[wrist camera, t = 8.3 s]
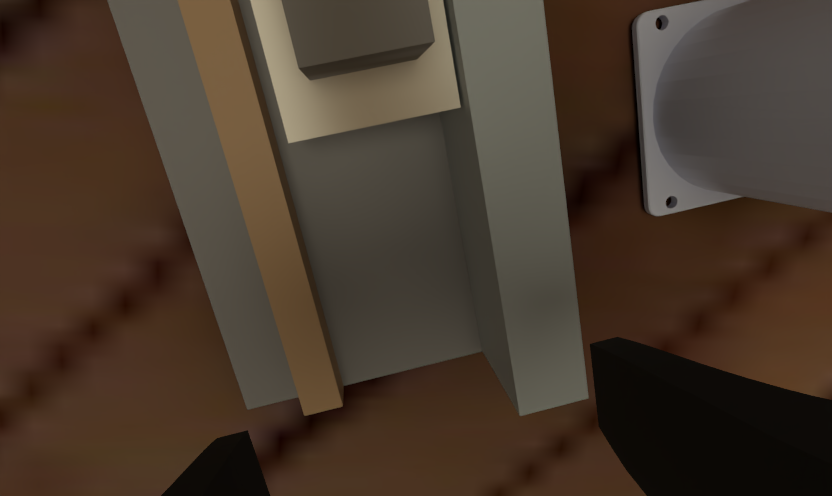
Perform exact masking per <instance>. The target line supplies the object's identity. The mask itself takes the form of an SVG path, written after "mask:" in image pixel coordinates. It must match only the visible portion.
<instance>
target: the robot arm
mask: <svg viewBox="0 0 832 496" xmlns="http://www.w3.org/2000/svg"><path fill="white" fill-rule="evenodd" d="M657 18H659V19H661V21H662V27H661V29H660V30H659V29H657V28H656V24H655V23H656V19H657ZM632 37H633V51H634V66H635V80H636V95H637V109H638V124H639V138H640V153H641V167H642V182H643V196H644V207H645V210H646V212H647V213H648V214H651V215H654V216H663V215H667V214H671V213H676V212H680V211H684V210H689V209H693V208H697V207H701V206H706V205H710V204H714V203H718V202H723V201H727V200H731V199H736V198H740V197H750V198H755V199H761V200H766V201H771V202H777V203H782V204H788V205H793V206H799V207H804V208H810V209H815V210H820V211H826V212H831V213H832V0H702V1H697V2H692V3H687V4H682V5H677V6H671V7H666V8H661V9H656V10H651V11H647V12H645V13H642V14H640V15H638V16H637V17H636V18H635V20H634V22H633V24H632ZM668 197H671V203H670V204H669V205H668V206H667V207H666V200H667V198H668ZM590 350H591V359H592V368H593V377H594V386H595V395H596V404H597V413H598V423H599V427H600V429H601V431H602V432H603V434H604V436H605V437H606V439H607V441H608V442H609V444H610V445H611V447H612V449H613V450H614V452H615V453H616V455H617V456H618V458H619V460H620V461H621V463H622V464H623V466H624V467H625V469H626V470H627V471H628V473H629V474H630V475H631V476H632V478H633V479H634V480H635V481H636V483H637V484H638V485H639V486H640V488H641V489H642V490H643V491H644V493H645V494H646V495H647V496H832V400H829V399H824V398H820V397H815V396H811V395H807V394H803V393H799V392H795V391H791V390H787V389H784V388H780V387H777V386H773V385H770V384H766V383H762V382H759V381H755V380H752V379H748V378H745V377H742V376H738V375H735V374H732V373H729V372H725V371H722V370H719V369H716V368H713V367H710V366H707V365H704V364H701V363H698V362H695V361H692V360H689V359H686V358H683V357H680V356H677V355H674V354H671V353H668V352H665V351H662V350H659V349H656V348H653V347H650V346H647V345H644V344H641V343H637V342H634V341H631V340H627V339H623V338H619V337H616V338H612V339H608V340H604V341H600V342H596V343H592V344H590ZM161 496H270V494H269V491H268V488H267V485H266V482H265V479H264V476H263V474H262V471H261V468H260V465H259V462H258V459H257V456H256V453H255V450H254V448H253V445H252V442H251V439H250V436H249V433H248V431H244V432H240V433H236V434H232V435H228V436H224V437H220V438H217V439H216V440H215V441H213V442H212V443H211V444H210V445H209V446H208V447H207V448H206V449H205V450H204V451H203V452H202V453H201V454H200V455H199V456H198V457H197V458H196V459H195V460H194V461H193V462H192V464H191V465H190V466H189V467H188V468H187V469H186V470H185V471H184V472H183V473H182V474H181V475H180V476H179V477H178V478H177V480H176V481H175V482H174V483H173V484H172V485H171V486H170V487H169V488H168V489H167V490H166V491H165V492H164V493H163V494H162V495H161Z"/></svg>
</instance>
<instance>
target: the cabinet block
mask: <svg viewBox="0 0 832 496" xmlns="http://www.w3.org/2000/svg"><path fill="white" fill-rule="evenodd" d="M250 1H251V5H252V9H253V13H254V16H255V20H256V24H257V28H258V31H259V35H260V39H261V43H262V46H263V50H264V54H265V57H266V61H267V65H268V69H269V72H270V76H271V80H272V84H273V87H274V91H275V95H276V99H277V102H278V106H279V110H280V114H281V117H282V121H283V125H284V129H285V132H286V136H287V140H288V143H292V142H297V141H302V140H307V139H312V138H316V137H321V136H326V135H331V134H336V133H341V132H345V131H350V130H355V129H360V128H365V127H369V126H374V125H379V124H384V123H389V122H393V121H398V120H403V119H408V118H413V117H417V116H422V115H427V114H432V113H437V112H441V111H446V110H451V109H456V108H461V105H460V99H459V93H458V87H457V81H456V75H455V69H454V63H453V57H452V51H451V45H450V39H449V33H448V27H447V21H446V15H445V9H444V3H443V0H250Z"/></svg>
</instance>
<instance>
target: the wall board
mask: <svg viewBox="0 0 832 496" xmlns="http://www.w3.org/2000/svg"><path fill="white" fill-rule="evenodd" d="M107 1H108V3H109V6H110V9H111V12H112V15H113V18H114V21H115V24H116V27H117V30H118V33H119V36H120V39H121V41H122V44H123V47H124V50H125V53H126V56H127V59H128V62H129V65H130V68H131V71H132V74H133V77H134V80H135V82H136V85H137V88H138V91H139V94H140V97H141V100H142V103H143V106H144V109H145V112H146V115H147V118H148V120H149V123H150V126H151V129H152V132H153V135H154V138H155V141H156V144H157V147H158V150H159V153H160V156H161V158H162V161H163V164H164V167H165V170H166V173H167V176H168V179H169V182H170V185H171V188H172V191H173V194H174V197H175V199H176V202H177V205H178V208H179V211H180V214H181V217H182V220H183V223H184V226H185V229H186V232H187V235H188V237H189V240H190V243H191V246H192V249H193V252H194V255H195V258H196V261H197V264H198V267H199V270H200V273H201V275H202V278H203V281H204V284H205V287H206V290H207V293H208V296H209V299H210V302H211V305H212V308H213V311H214V314H215V316H216V319H217V322H218V325H219V328H220V331H221V334H222V337H223V340H224V343H225V346H226V349H227V352H228V354H229V357H230V360H231V363H232V366H233V369H234V372H235V375H236V378H237V381H238V384H239V387H240V390H241V392H242V395H243V398H244V401H245V404H246V407H247V410H248V409H252V408H256V407H260V406H264V405H269V404H273V403H277V402H281V401H285V400H289V399H293V398H297V397H299V400H300V403H301V406H302V410H303V413H304V416H306V415H310V414H314V413H318V412H322V411H326V410H330V409H334V408H338V407H342V406H343V386H345V385H349V384H353V383H357V382H361V381H365V380H369V379H373V378H377V377H381V376H385V375H389V374H393V373H397V372H401V371H405V370H409V369H413V368H417V367H421V366H425V365H429V364H433V363H437V362H441V361H445V360H449V359H454V358H458V357H462V356H466V355H470V354H474V353H478V352H482V351H483V353H484V355H485V357H486V358H487V360H488V362H489V364H490V365H491V367H492V369H493V370H494V372H495V374H496V376H497V377H498V379H499V381H500V383H501V384H502V386H503V388H504V389H505V391H506V393H507V395H508V396H509V398H510V400H511V402H512V403H513V405H514V407H515V408H516V410H517V412H518V414H519V415H520V416H522V415H526V414H530V413H534V412H538V411H542V410H545V409H549V408H553V407H557V406H561V405H565V404H568V403H572V402H576V401H580V400H584V399H588V398H589V397H588V389H587V380H586V371H585V362H584V354H583V345H582V336H581V327H580V319H579V310H578V301H577V292H576V284H575V275H574V266H573V257H572V249H571V240H570V231H569V223H568V214H567V205H566V196H565V188H564V179H563V170H562V161H561V153H560V144H559V135H558V126H557V118H556V109H555V100H554V91H553V83H552V74H551V65H550V56H549V48H548V39H547V30H546V21H545V13H544V4H543V0H443V3H444V9H445V15H446V21H447V27H448V33H449V39H450V45H451V51H452V57H453V63H454V69H455V75H456V81H457V87H458V93H459V99H460V105H461V108H456V109H451V110H446V111H441V112H437V113H432V114H427V115H422V116H417V117H413V118H408V119H403V120H398V121H393V122H389V123H384V124H379V125H374V126H369V127H365V128H360V129H355V130H350V131H345V132H341V133H336V134H331V135H326V136H321V137H316V138H312V139H307V140H302V141H297V142H292V143H288V140H287V136H286V132H285V129H284V125H283V121H282V117H281V114H280V110H279V106H278V102H277V99H276V95H275V91H274V87H273V84H272V80H271V76H270V72H269V69H268V65H267V61H266V57H265V54H264V50H263V46H262V43H261V39H260V35H259V31H258V28H257V24H256V20H255V16H254V13H253V9H252V5H251V1H250V0H107Z"/></svg>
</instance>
